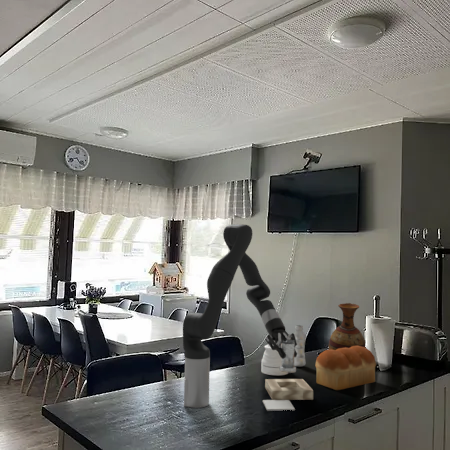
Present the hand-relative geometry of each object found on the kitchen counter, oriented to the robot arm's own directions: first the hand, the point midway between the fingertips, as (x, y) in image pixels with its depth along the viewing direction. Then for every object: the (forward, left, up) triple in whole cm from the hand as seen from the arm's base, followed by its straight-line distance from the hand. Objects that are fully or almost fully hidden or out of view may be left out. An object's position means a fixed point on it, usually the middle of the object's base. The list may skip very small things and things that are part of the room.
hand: (289, 356), depth 185 cm
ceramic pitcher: (+45, +60, -15) cm, 76 cm away
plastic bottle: (+15, +45, -15) cm, 50 cm away
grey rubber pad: (-7, -14, -15) cm, 22 cm away
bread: (+29, +16, -15) cm, 36 cm away
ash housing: (0, +1, -15) cm, 15 cm away
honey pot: (+1, +35, -15) cm, 38 cm away
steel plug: (-1, +1, -6) cm, 6 cm away
